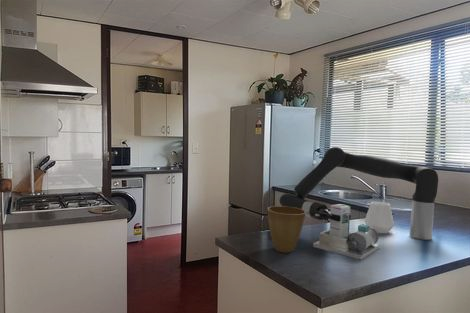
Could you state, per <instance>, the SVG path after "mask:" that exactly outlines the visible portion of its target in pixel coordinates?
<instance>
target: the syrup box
mask: <svg viewBox="0 0 470 313" xmlns="http://www.w3.org/2000/svg"><path fill="white" fill-rule="evenodd" d="M330 209H331V214H334V215H338V216H340V217H341V221H339V222H338V221H335V220H329V221H330V222H329V229H330V235H331V236H335V237H340V238H344V239H347V238H348V236H349V232H350V220H351V219H350V215H351V206H350V205H347V204H343V203H342V204H341V203H339V204H331V205H330Z"/></svg>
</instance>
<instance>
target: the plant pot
mask: <svg viewBox="0 0 470 313" xmlns="http://www.w3.org/2000/svg"><path fill="white" fill-rule="evenodd" d="M305 214H306V211H304V210H302V209H299V208H294V207H287V206H281V205H276V206H275V205H273V206H269V207H267V219H268V220H267V221H268V227H269V232H270V238H271V240H272V245H273V248H274V250H275V251H277V252H281V253H286V254H287V253H293V251H294V250H295V247H296V246H297V243H298V241H299V238H300V236H301V232H302V229H303V226H304V224H305V218H306V215H305Z"/></svg>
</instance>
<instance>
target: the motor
mask: <svg viewBox="0 0 470 313" xmlns="http://www.w3.org/2000/svg"><path fill="white" fill-rule="evenodd" d="M378 240H379V233H377V231H376V230H375V229H373V228H371V227H369V225H366V224H364V223H361V224H359V225H358V226H357V231H356V232H351V231H349V236H348V238H347V239H344V238H340V237H335V236H331V235H330V228H329V229H326V230H324V231H321V232H319V240H318V241H315V242H312V247H313V248H314V249H315V248H316V249H319V250H323V251H328V252H331V253H335V254H338V255H343V256H346V257H348V258H349V257H350V258H352V259H353V258H354V259H356V260H363V259H365V258H366V257H368V256H369V255H371V254H373V253H374V252H376V251H378V250H379V249H380V246H381V245H380V244H379V243H377V242H378Z"/></svg>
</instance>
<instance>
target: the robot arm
mask: <svg viewBox="0 0 470 313" xmlns="http://www.w3.org/2000/svg"><path fill="white" fill-rule="evenodd" d="M336 168H344V169H349V170H354V171H357V172H359V173H364V174H366V175H370V176H375V177H379V178H384V179H393V180H394V179H397V180H403V181H406V182H409V183H413V184H415V190H414V193H412V197H411V198H412V200H411V212H410V213H411V214H410V226H409V236H410V237H411V238H413V239H418V240H423V241H424V240H425V241H431V240H432V238H433V228H434V213H435V212H434V211H435V201H436V197H437V195H438V187H439V176H438V173H437V171H436V170H435V169H434V168H431V167H427V166H418V165H409V164H404V163H400V162H398V161H396V160H392V159H388V158H385V157H381V156H376V155H375V156H374V155H367V154H366V155H365V154H354V153H349V152H346V151H344V150H343V149H342V148H341V147H338V146H333V147H330V148H328V149H327V150H326V151H325V153H324V155H323V158H322V160H321V161H320V162H319V163H318V164H317V165H316V167H315V168H313V169H312V170H311V171H310V172H309V173H307V175H305V176H304V177H303V178H302V179H301V180H300V182H299V183H297V184H296V186H294V188H293V189H294V192H295V195H294V194H291V193H289V192H288V193H284V194H282V195H281V196H280V197H279V200H278V201H279V204H280V206H287V207H294V208H299V209H302V210H304V211H306V214H305V217H308V218H310V219H311V218H312V219H314V220H318V221H323V220H325V221H328V220H329V221H330V220H335V221H338V222H339V221H341V217H340V216H338V215H334V214H331V207H330V208H328V206H327V205H326V204H325V203H323V202H319V201H314V200H310V199H309V200H307V199H306V197H307V196H309V194H310V193H311V192H312V191H313V190H314V189H315V188H316V187H317V186H318V185H319V183H320V182H321V181H322V180H323V179H324V178H326V176H327V175H328V174H330V173H331V172H332V171H333V170H335V169H336ZM351 218H352V215H351V214H350V220H352V219H351Z"/></svg>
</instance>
